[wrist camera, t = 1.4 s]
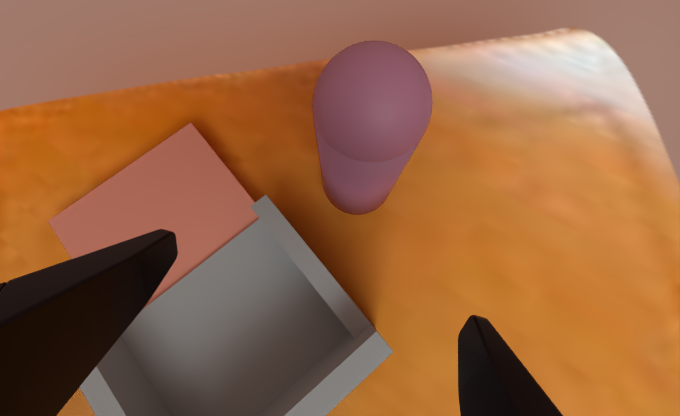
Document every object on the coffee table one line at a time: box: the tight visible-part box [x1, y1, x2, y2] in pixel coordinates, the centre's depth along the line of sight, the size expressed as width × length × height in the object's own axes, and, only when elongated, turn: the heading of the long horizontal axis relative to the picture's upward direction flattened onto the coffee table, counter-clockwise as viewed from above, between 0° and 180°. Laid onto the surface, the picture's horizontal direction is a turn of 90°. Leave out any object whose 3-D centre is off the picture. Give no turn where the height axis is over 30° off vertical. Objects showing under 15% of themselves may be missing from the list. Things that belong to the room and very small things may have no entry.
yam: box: [313, 41, 432, 214], centre depth 18 cm, size 5×5×13 cm
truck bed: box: [48, 123, 393, 416], centre depth 19 cm, size 14×20×7 cm
